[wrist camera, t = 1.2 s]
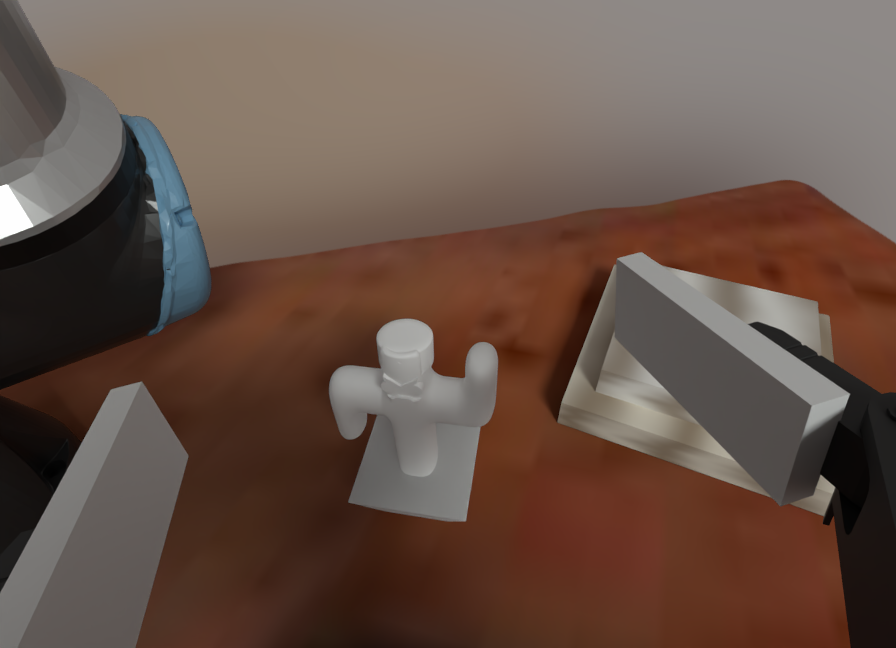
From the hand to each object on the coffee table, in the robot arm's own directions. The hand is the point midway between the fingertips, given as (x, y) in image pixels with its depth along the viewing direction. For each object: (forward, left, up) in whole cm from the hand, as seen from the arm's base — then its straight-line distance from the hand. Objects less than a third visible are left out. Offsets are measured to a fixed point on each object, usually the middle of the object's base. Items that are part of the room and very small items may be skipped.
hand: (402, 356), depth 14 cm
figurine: (-4, +7, -22) cm, 24 cm away
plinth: (+12, +25, -22) cm, 35 cm away
